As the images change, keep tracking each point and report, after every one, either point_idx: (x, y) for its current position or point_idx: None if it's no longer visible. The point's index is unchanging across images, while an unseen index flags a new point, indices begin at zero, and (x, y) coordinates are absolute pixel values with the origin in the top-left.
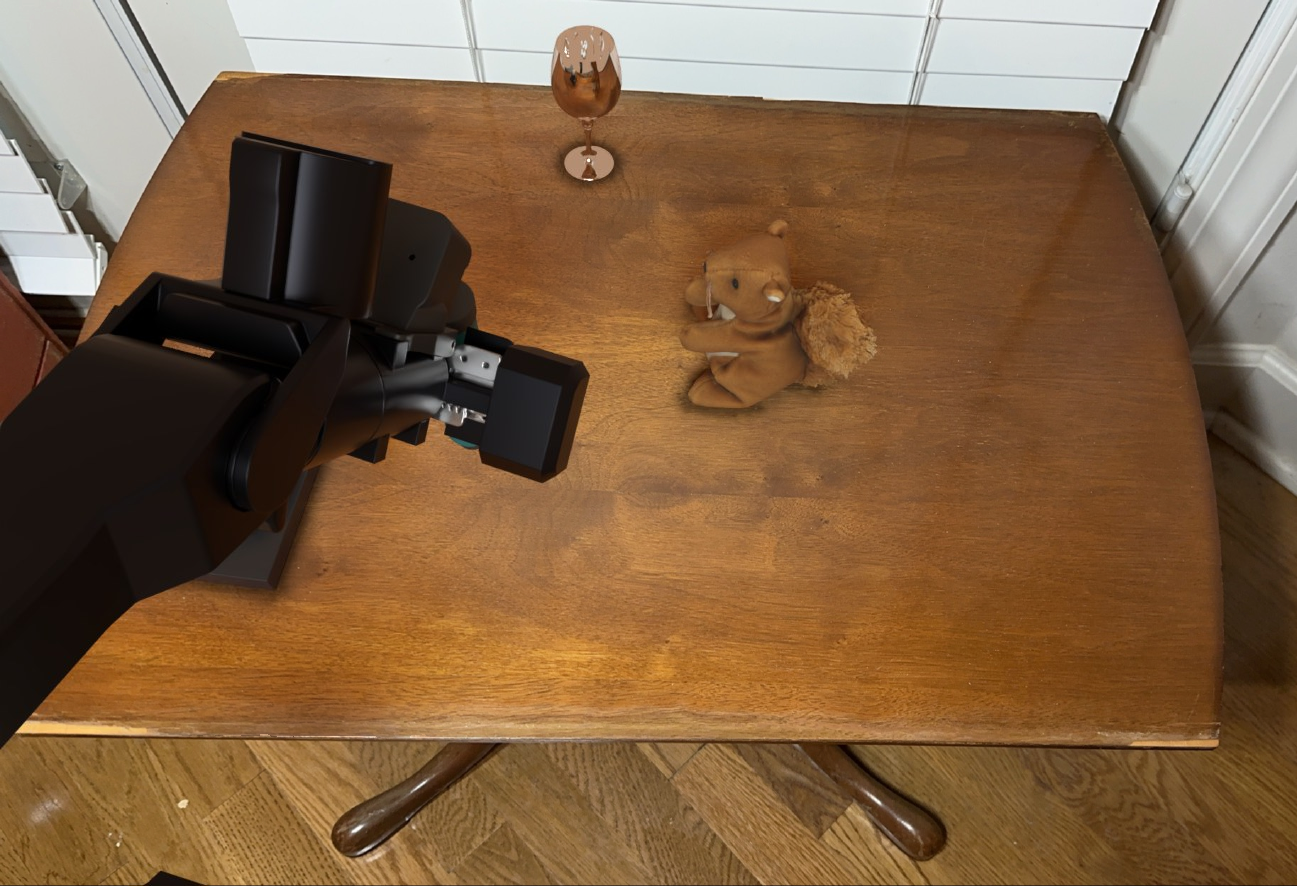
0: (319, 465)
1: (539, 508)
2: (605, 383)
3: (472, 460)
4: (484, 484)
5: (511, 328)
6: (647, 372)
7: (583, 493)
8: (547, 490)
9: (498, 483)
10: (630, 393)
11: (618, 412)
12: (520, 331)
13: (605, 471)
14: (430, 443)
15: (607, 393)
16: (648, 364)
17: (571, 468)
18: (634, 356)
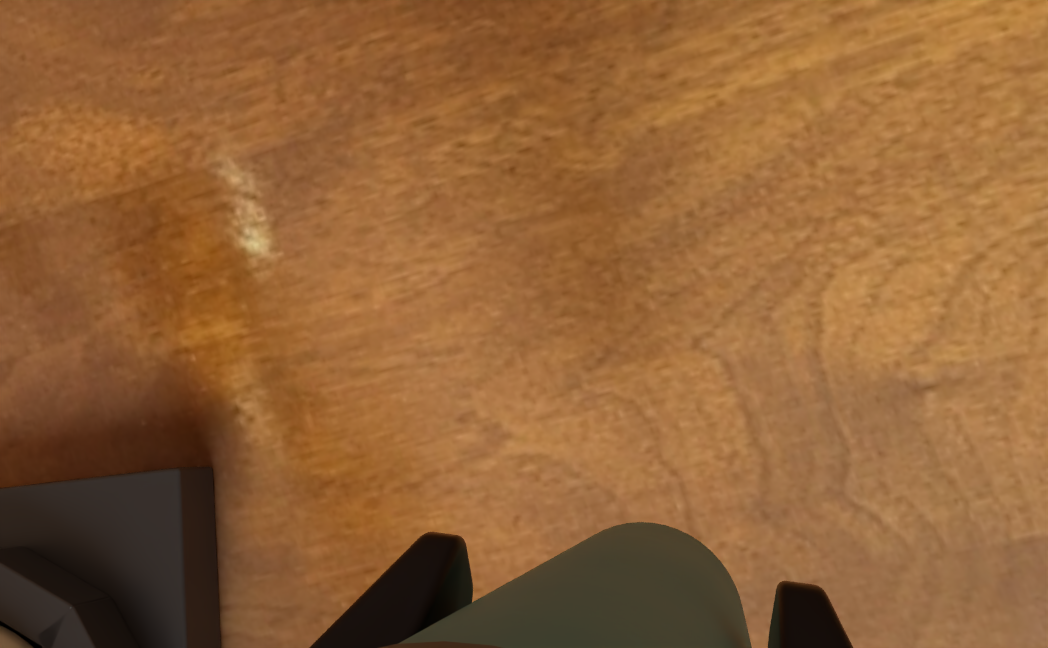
0: (219, 639)
1: (868, 641)
2: (919, 149)
3: (612, 522)
4: None
5: (569, 54)
6: (1044, 68)
7: (990, 558)
8: (871, 573)
9: None
10: (1014, 160)
11: (1000, 240)
12: (598, 55)
13: (1034, 462)
14: (477, 495)
15: (939, 183)
16: (1036, 38)
17: (919, 478)
18: (979, 25)
